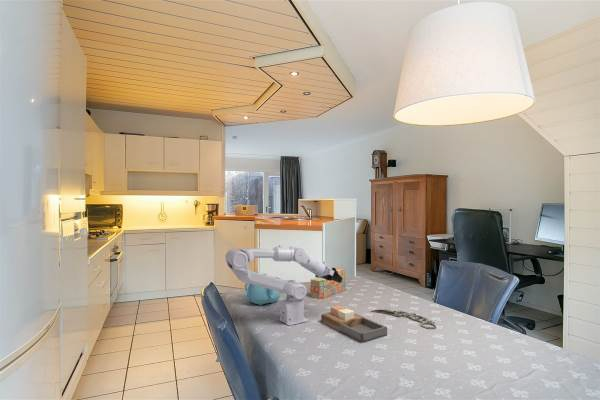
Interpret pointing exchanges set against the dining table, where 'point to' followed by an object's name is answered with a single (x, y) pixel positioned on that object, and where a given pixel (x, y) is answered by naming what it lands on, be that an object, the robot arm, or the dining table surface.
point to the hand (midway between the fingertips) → (336, 279)
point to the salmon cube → (336, 310)
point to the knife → (411, 316)
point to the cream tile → (346, 314)
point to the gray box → (364, 331)
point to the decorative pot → (261, 294)
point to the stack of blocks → (327, 286)
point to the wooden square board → (340, 320)
